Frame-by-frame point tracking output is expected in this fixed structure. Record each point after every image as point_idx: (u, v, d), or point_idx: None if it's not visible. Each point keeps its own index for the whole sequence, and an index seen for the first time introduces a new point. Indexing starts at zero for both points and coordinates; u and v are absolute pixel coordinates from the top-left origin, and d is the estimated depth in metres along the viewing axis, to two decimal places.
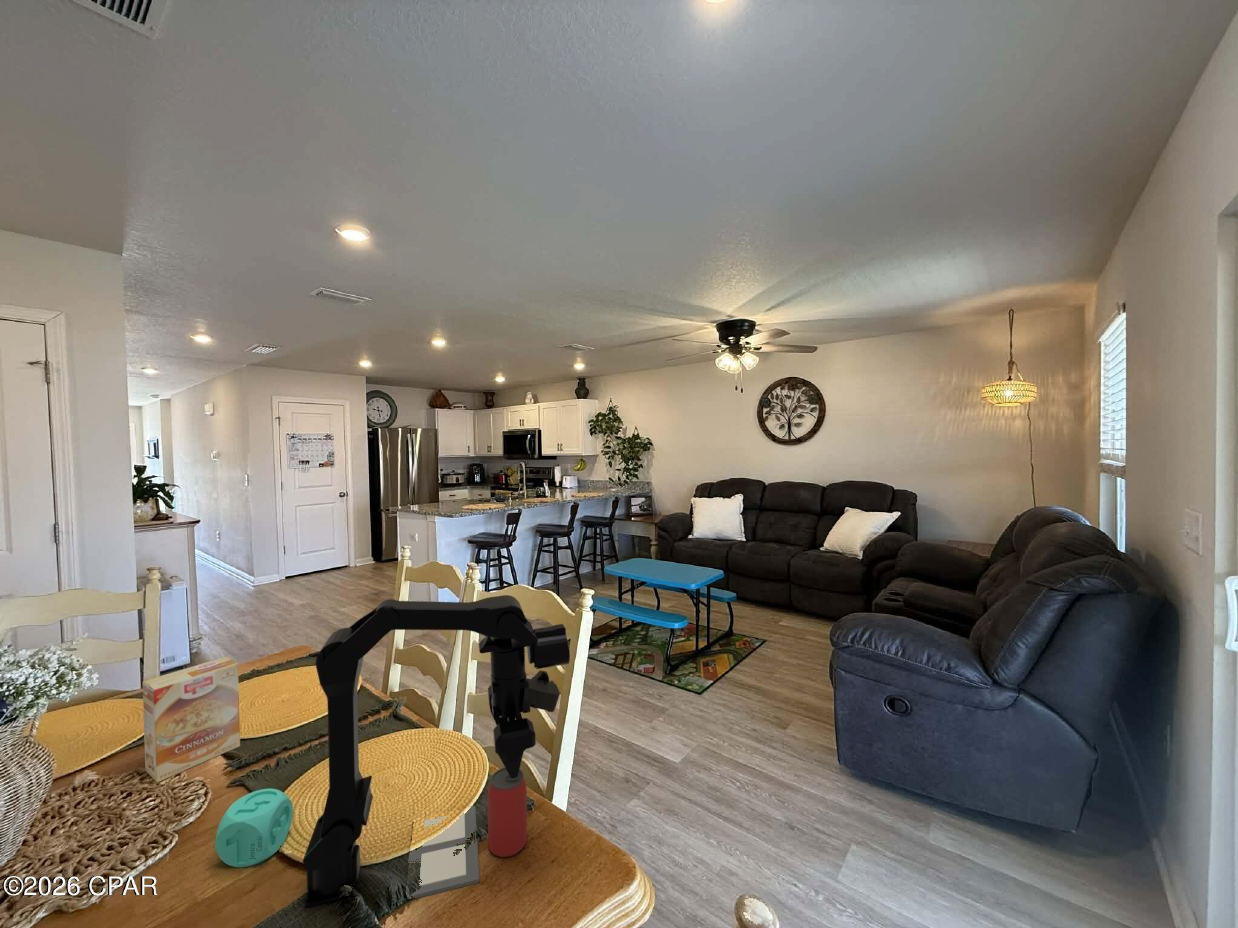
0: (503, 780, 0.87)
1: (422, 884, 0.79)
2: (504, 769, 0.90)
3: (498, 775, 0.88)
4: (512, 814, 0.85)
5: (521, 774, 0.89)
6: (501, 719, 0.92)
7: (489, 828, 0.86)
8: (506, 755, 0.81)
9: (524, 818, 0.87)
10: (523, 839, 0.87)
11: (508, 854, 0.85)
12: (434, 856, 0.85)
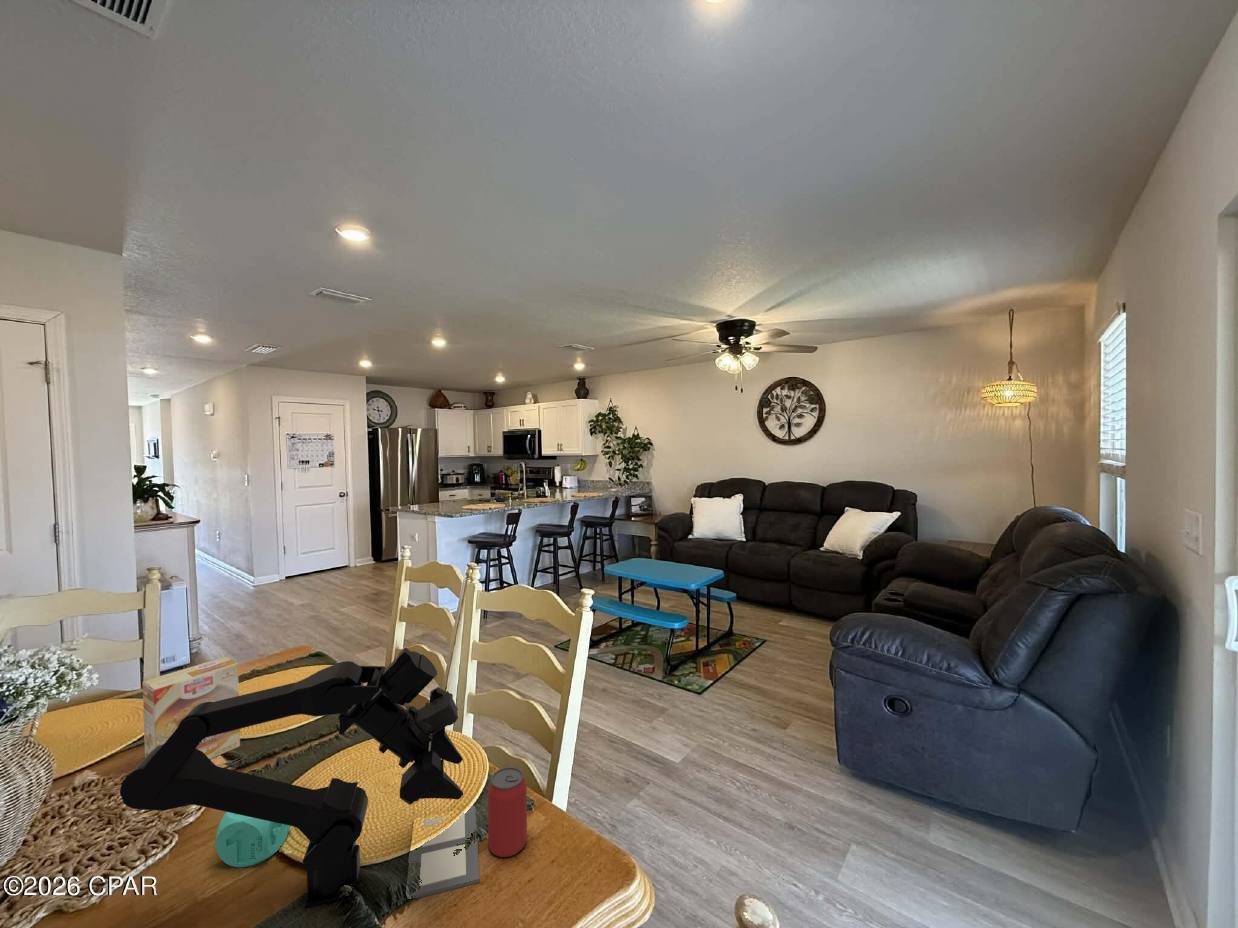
0: (503, 780, 0.87)
1: (422, 884, 0.79)
2: (504, 769, 0.90)
3: (498, 775, 0.88)
4: (512, 814, 0.85)
5: (521, 774, 0.89)
6: (435, 749, 0.88)
7: (489, 828, 0.86)
8: (431, 792, 0.78)
9: (524, 819, 0.87)
10: (523, 839, 0.87)
11: (508, 854, 0.85)
12: (434, 856, 0.85)
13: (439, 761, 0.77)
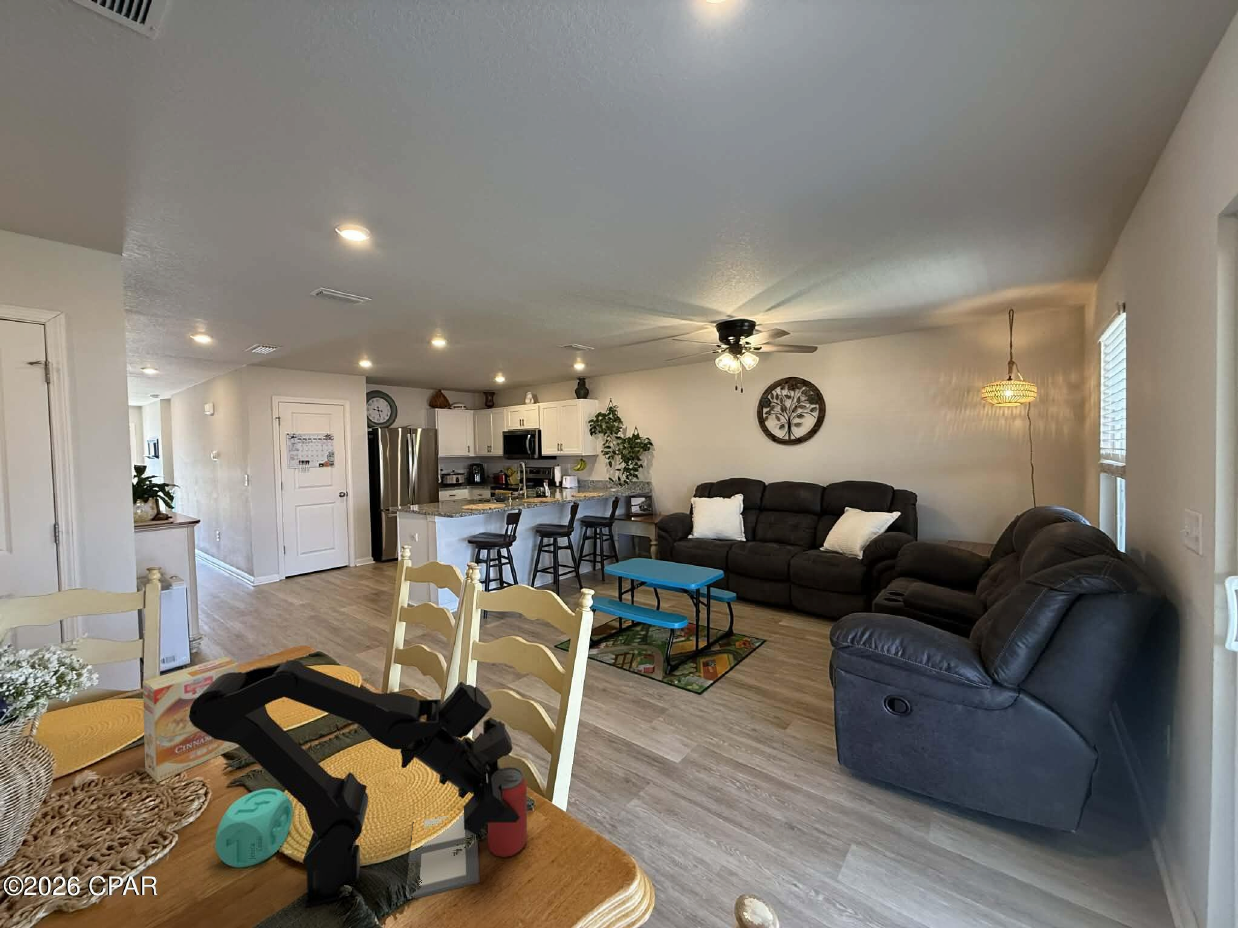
0: (503, 780, 0.87)
1: (422, 884, 0.79)
2: (504, 769, 0.90)
3: (498, 775, 0.89)
4: None
5: (521, 774, 0.89)
6: (488, 781, 0.90)
7: (489, 828, 0.86)
8: (491, 817, 0.82)
9: (524, 818, 0.87)
10: (523, 839, 0.87)
11: (508, 854, 0.85)
12: (434, 856, 0.85)
13: (499, 792, 0.80)
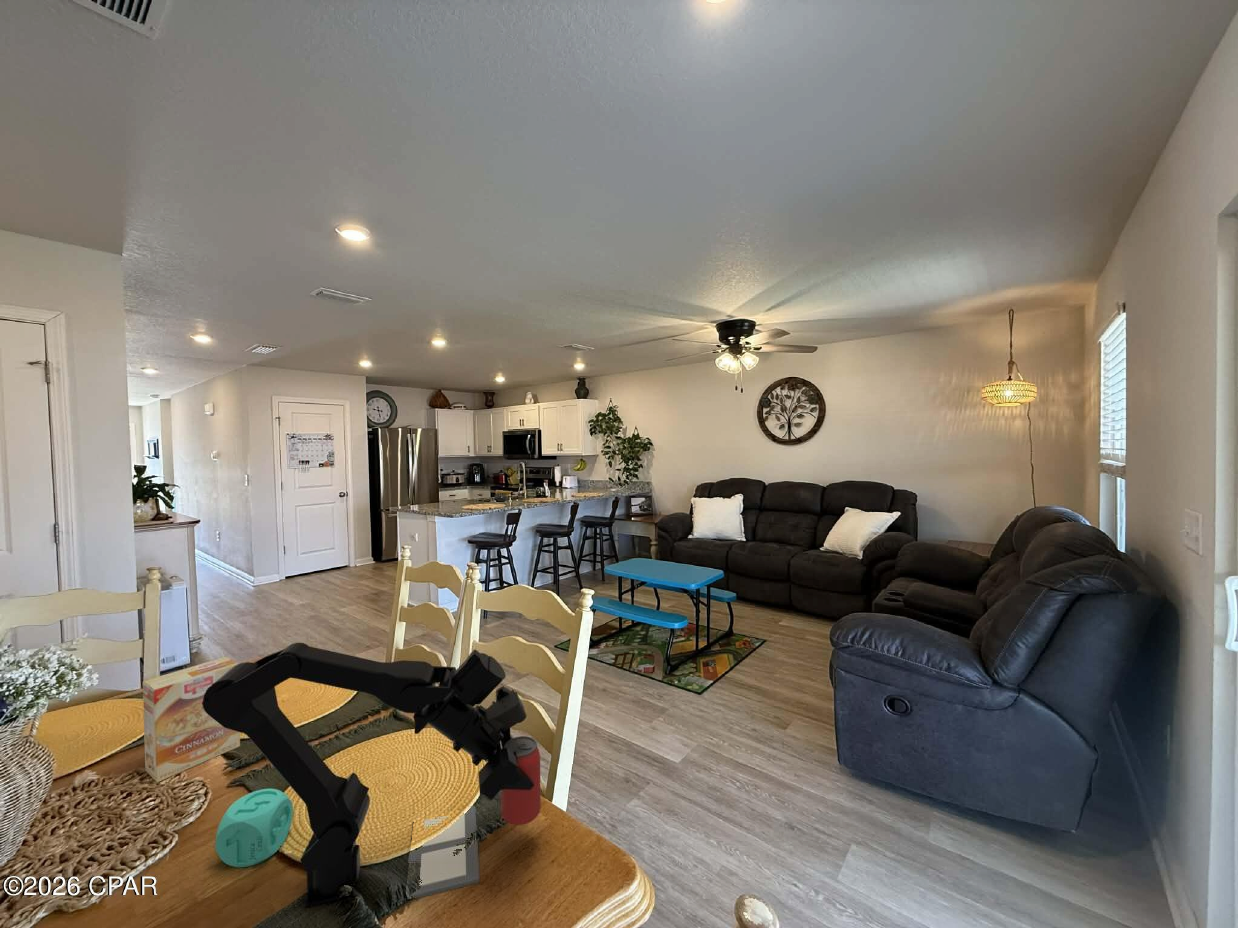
0: (516, 749, 0.86)
1: (422, 884, 0.79)
2: (517, 738, 0.89)
3: (511, 744, 0.87)
4: None
5: (534, 743, 0.88)
6: None
7: (503, 797, 0.85)
8: (506, 783, 0.81)
9: (538, 787, 0.86)
10: (537, 807, 0.86)
11: (522, 822, 0.84)
12: (434, 856, 0.85)
13: (514, 758, 0.79)
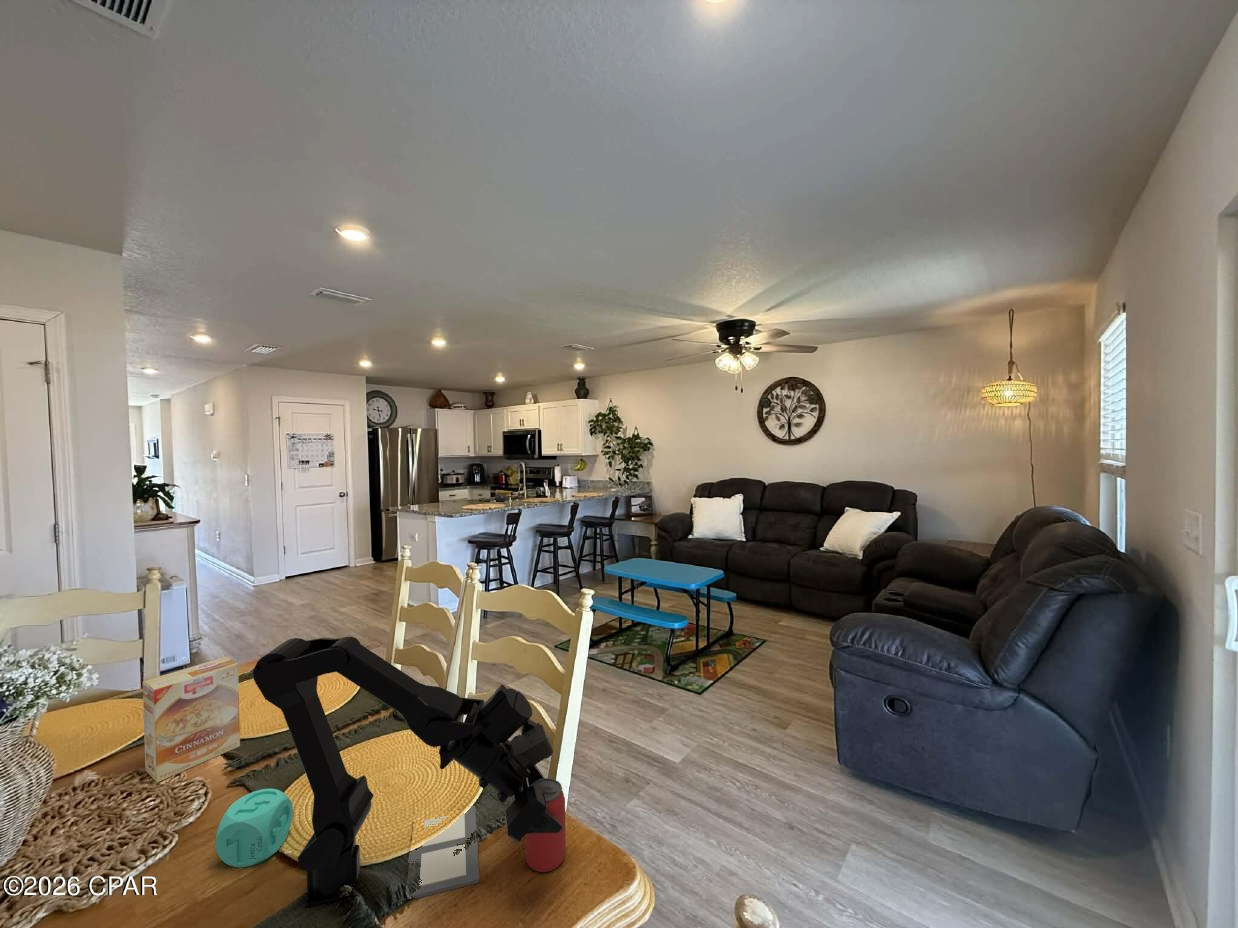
0: (541, 792, 0.84)
1: (422, 884, 0.79)
2: (541, 780, 0.87)
3: None
4: None
5: (559, 786, 0.86)
6: None
7: (527, 842, 0.83)
8: (534, 827, 0.78)
9: (563, 832, 0.84)
10: (562, 853, 0.84)
11: (548, 869, 0.82)
12: (434, 856, 0.85)
13: (542, 796, 0.77)
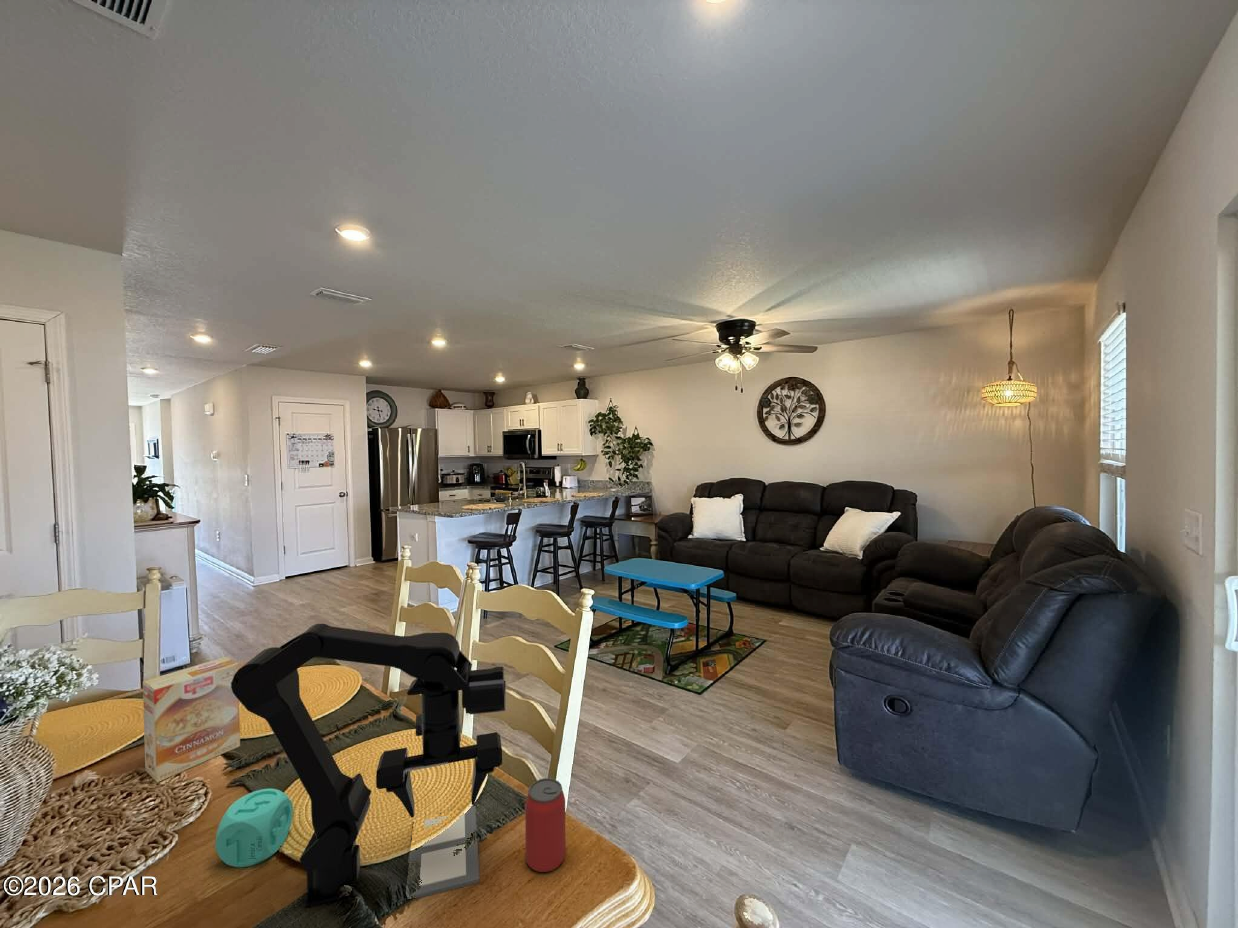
0: (541, 792, 0.84)
1: (422, 884, 0.79)
2: (541, 780, 0.87)
3: (535, 787, 0.86)
4: (552, 827, 0.82)
5: (559, 786, 0.86)
6: (409, 790, 0.80)
7: (527, 842, 0.83)
8: None
9: (563, 832, 0.84)
10: (562, 853, 0.84)
11: (548, 869, 0.82)
12: (434, 856, 0.85)
13: None
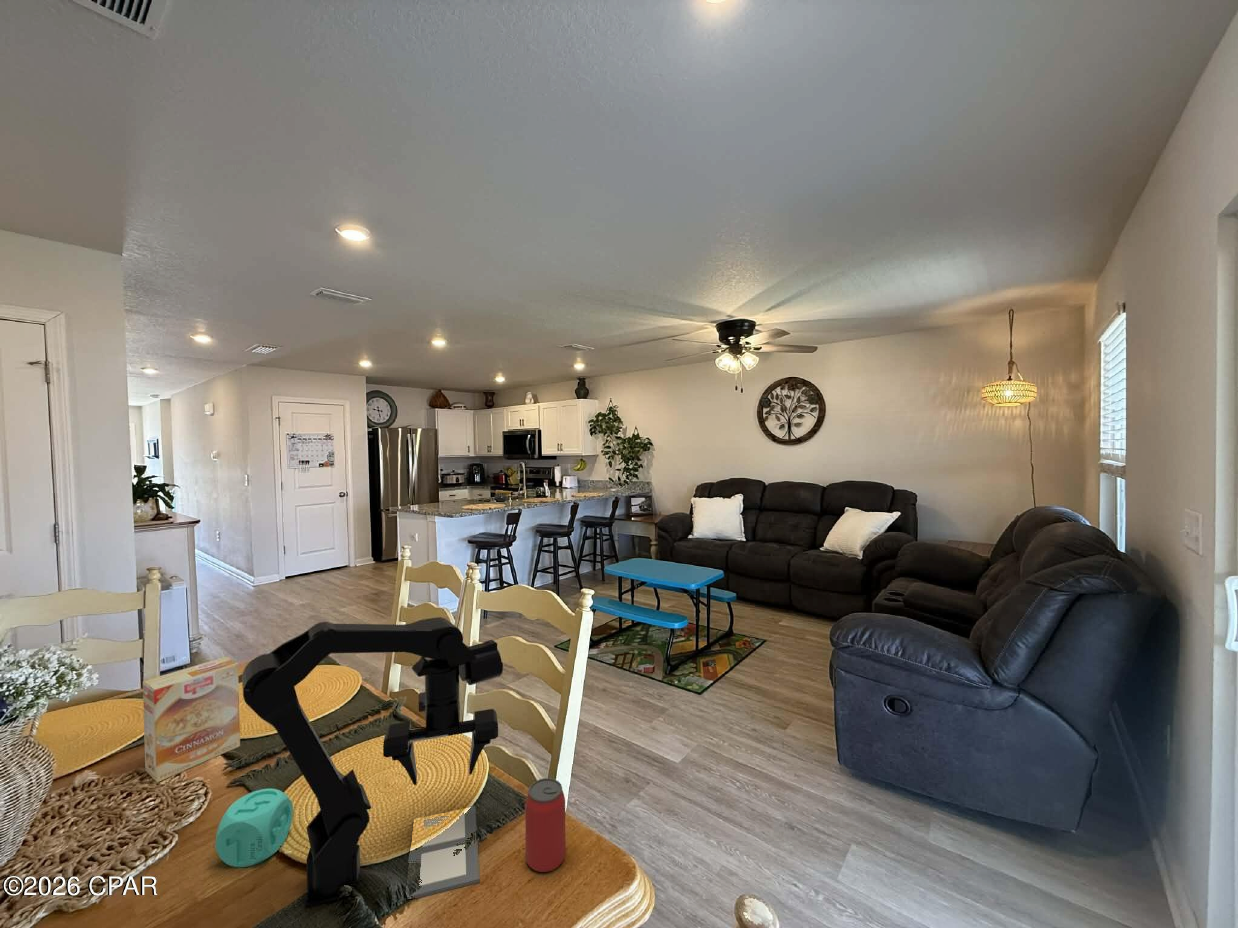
0: (541, 792, 0.84)
1: (422, 884, 0.79)
2: (541, 780, 0.87)
3: (535, 787, 0.86)
4: (552, 827, 0.82)
5: (559, 786, 0.86)
6: (413, 760, 0.87)
7: (527, 842, 0.83)
8: None
9: (563, 832, 0.84)
10: (562, 853, 0.84)
11: (548, 869, 0.82)
12: (434, 856, 0.85)
13: None
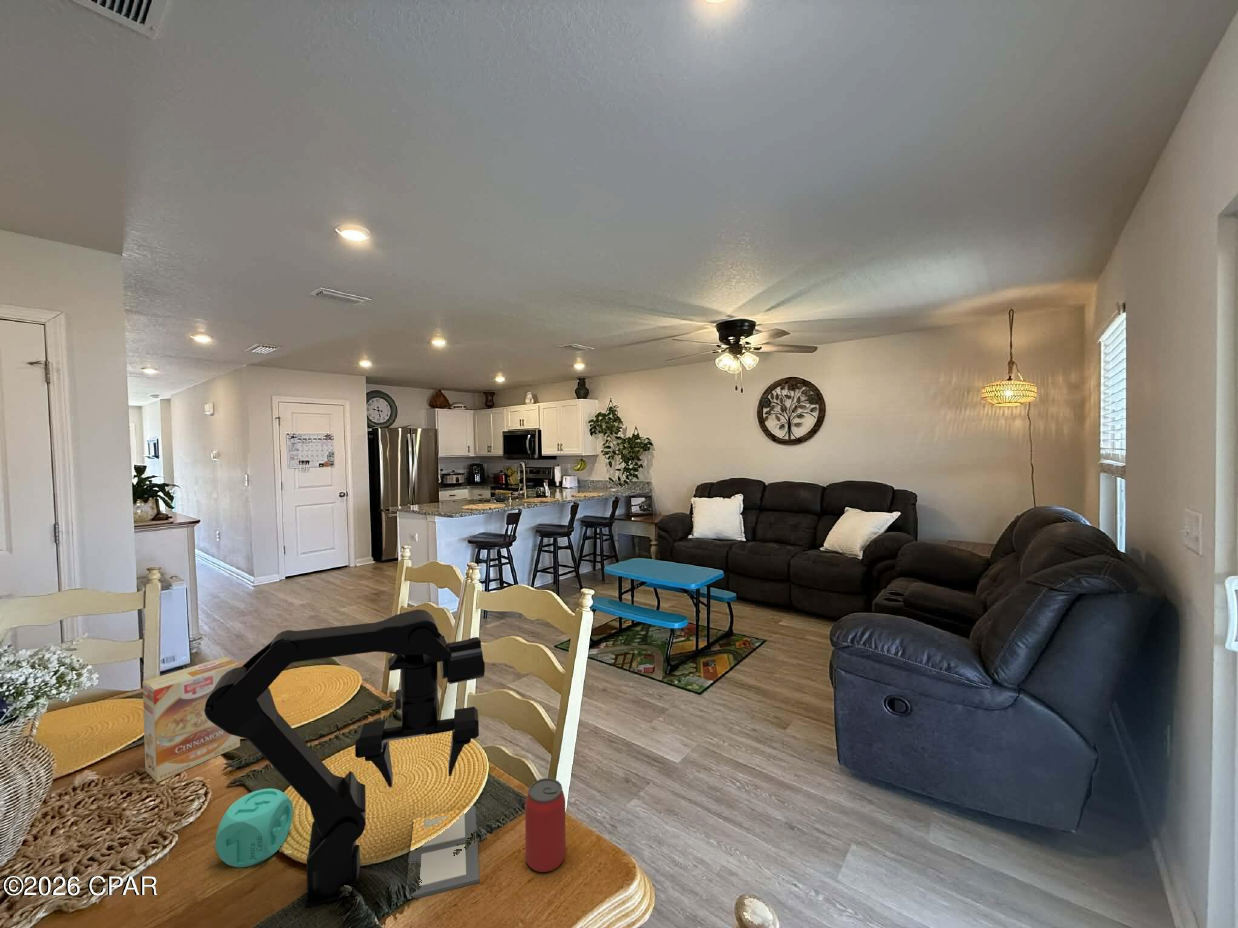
0: (541, 792, 0.84)
1: (422, 884, 0.79)
2: (541, 780, 0.87)
3: (535, 787, 0.86)
4: (552, 827, 0.82)
5: (559, 786, 0.86)
6: (387, 760, 0.82)
7: (527, 842, 0.83)
8: None
9: (563, 832, 0.84)
10: (562, 853, 0.84)
11: (548, 869, 0.82)
12: (434, 856, 0.85)
13: None
